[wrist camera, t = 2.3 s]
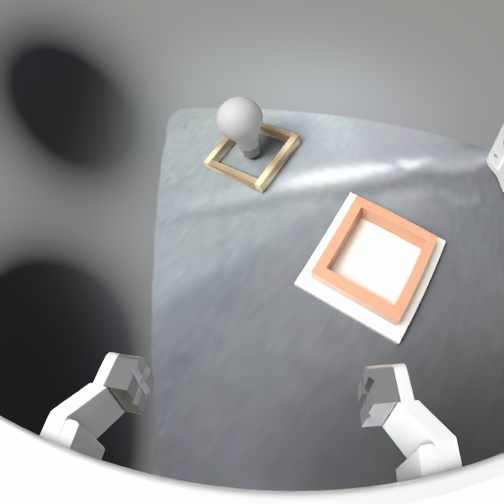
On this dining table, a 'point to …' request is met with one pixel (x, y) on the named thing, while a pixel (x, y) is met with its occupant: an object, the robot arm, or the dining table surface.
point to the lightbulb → (241, 124)
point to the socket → (372, 267)
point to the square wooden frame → (270, 171)
